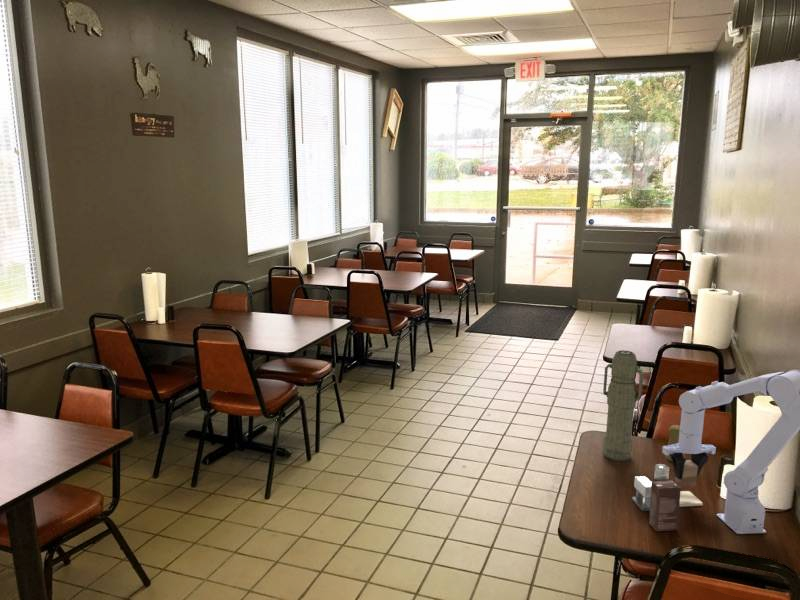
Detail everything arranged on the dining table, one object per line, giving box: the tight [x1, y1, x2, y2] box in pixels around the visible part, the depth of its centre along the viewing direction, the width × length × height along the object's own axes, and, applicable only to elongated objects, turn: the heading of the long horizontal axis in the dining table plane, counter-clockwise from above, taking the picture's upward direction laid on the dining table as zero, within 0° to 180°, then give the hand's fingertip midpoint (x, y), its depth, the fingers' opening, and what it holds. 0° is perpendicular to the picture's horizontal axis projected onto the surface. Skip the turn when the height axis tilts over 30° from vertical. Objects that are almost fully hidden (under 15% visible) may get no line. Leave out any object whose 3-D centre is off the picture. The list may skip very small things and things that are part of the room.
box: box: [648, 480, 682, 532], centre depth 165 cm, size 6×4×12 cm
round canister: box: [653, 463, 670, 481], centre depth 193 cm, size 4×4×4 cm
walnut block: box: [674, 459, 698, 488], centre depth 180 cm, size 4×4×6 cm
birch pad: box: [679, 490, 704, 508], centre depth 181 cm, size 7×7×1 cm
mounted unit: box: [631, 475, 652, 512], centre depth 177 cm, size 6×4×7 cm, turn 5°
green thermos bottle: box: [602, 349, 645, 462], centre depth 207 cm, size 9×12×35 cm
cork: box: [664, 424, 686, 462], centre depth 208 cm, size 6×6×11 cm
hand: (686, 477), depth 180 cm, fingers closed on walnut block, 4 cm apart
